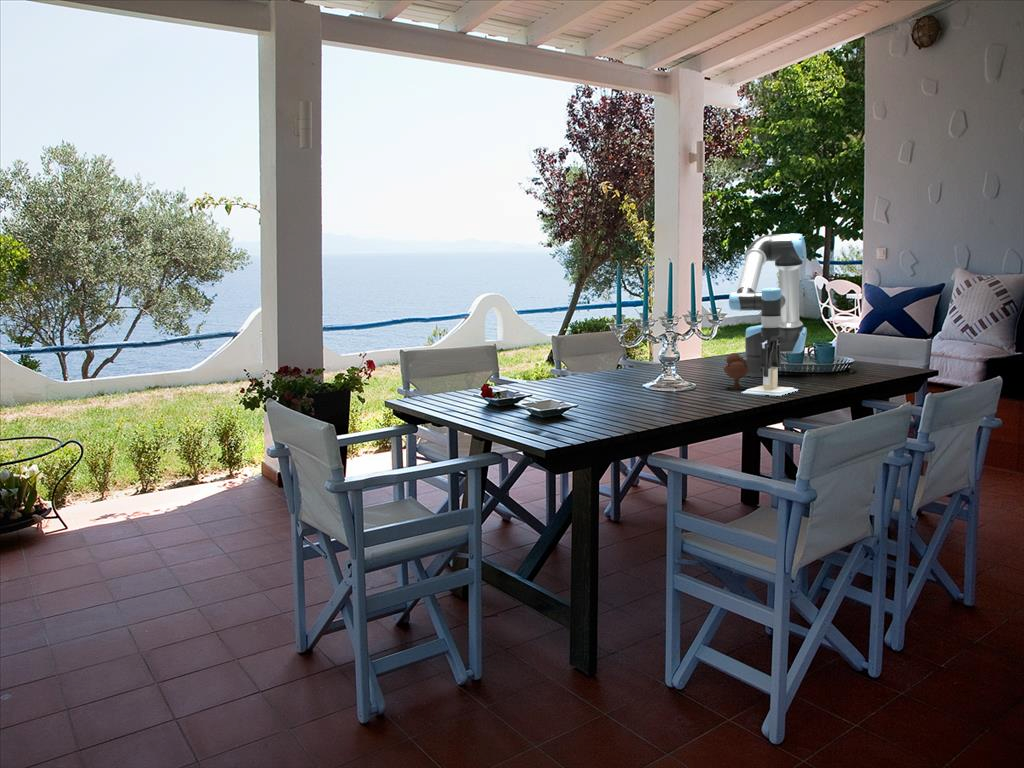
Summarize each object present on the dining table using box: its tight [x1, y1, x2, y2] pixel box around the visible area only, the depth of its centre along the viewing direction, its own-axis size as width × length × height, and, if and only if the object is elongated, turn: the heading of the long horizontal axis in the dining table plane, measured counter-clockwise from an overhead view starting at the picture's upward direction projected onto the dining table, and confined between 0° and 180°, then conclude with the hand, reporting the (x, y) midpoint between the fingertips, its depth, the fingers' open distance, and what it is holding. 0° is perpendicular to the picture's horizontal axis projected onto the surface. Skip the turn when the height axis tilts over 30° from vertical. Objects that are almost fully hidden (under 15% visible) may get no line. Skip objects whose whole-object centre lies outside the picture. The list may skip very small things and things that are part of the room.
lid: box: [745, 368, 795, 394], centre depth 343 cm, size 14×14×9 cm
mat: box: [741, 388, 800, 397], centre depth 343 cm, size 18×16×1 cm
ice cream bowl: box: [722, 352, 750, 390], centre depth 355 cm, size 11×11×15 cm
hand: (770, 383), depth 343 cm, fingers open, 6 cm apart
